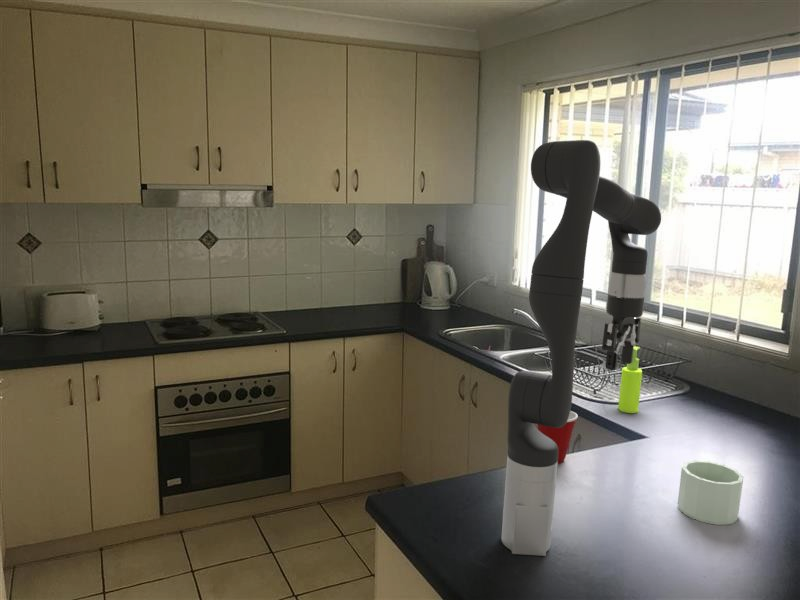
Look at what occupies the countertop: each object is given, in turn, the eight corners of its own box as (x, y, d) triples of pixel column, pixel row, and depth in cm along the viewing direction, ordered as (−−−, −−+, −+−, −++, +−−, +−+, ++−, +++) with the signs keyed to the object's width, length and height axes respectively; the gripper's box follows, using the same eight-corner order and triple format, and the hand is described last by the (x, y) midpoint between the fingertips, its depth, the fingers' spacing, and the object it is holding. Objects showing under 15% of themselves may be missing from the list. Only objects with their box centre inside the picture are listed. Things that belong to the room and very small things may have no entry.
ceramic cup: (747, 526, 137) (753, 485, 136) (689, 523, 138) (694, 482, 136) (723, 500, 149) (728, 462, 147) (670, 497, 149) (674, 459, 148)
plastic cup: (542, 446, 176) (546, 403, 174) (581, 458, 169) (585, 413, 167) (522, 458, 167) (525, 412, 165) (561, 471, 161) (566, 423, 159)
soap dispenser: (640, 408, 210) (647, 346, 207) (635, 414, 205) (642, 351, 201) (621, 404, 214) (627, 343, 210) (616, 410, 208) (622, 347, 204)
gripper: (622, 289, 153) (615, 358, 156) (595, 294, 142) (588, 368, 145) (655, 293, 148) (647, 364, 151) (630, 299, 137) (622, 375, 140)
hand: (618, 366), depth 148 cm, fingers open, 8 cm apart
